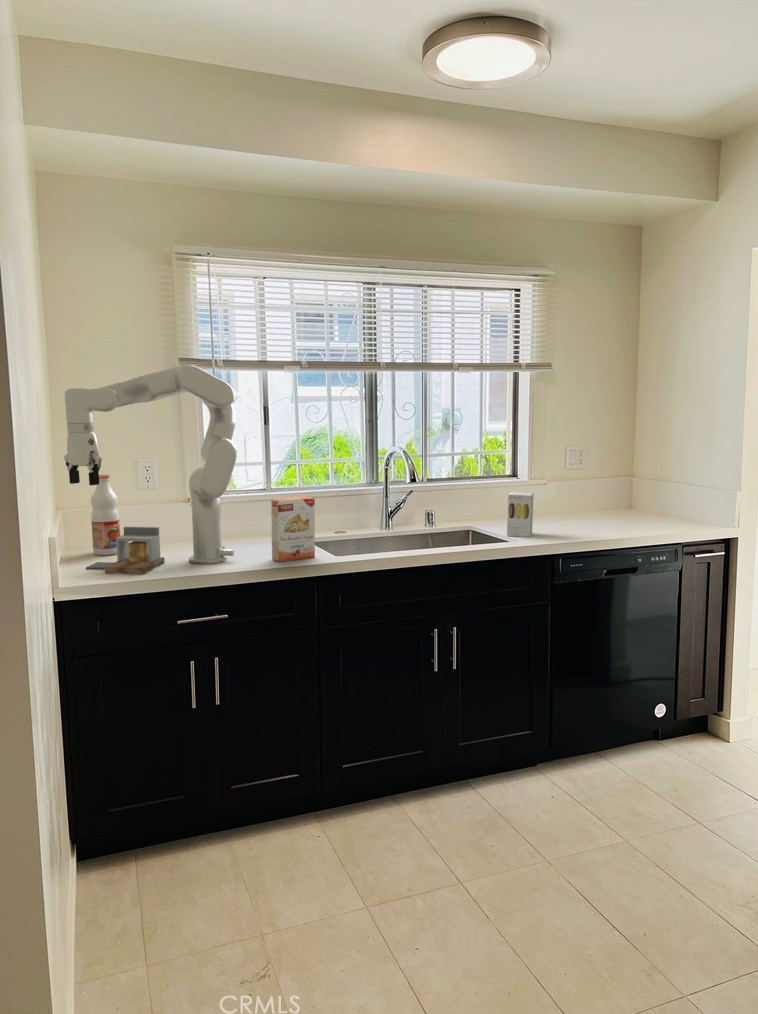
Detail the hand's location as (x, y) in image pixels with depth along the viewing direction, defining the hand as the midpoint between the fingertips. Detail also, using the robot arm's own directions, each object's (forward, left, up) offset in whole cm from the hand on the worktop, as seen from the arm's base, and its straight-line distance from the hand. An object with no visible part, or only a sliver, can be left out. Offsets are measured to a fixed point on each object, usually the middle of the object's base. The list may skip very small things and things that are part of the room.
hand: (84, 484), depth 232 cm
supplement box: (-140, -81, -29) cm, 164 cm away
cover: (-11, -11, -26) cm, 30 cm away
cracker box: (-59, -28, -29) cm, 72 cm away
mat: (0, -9, -28) cm, 30 cm away
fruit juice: (+9, -30, -29) cm, 42 cm away
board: (-11, -8, -28) cm, 32 cm away
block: (-11, -12, -28) cm, 33 cm away
